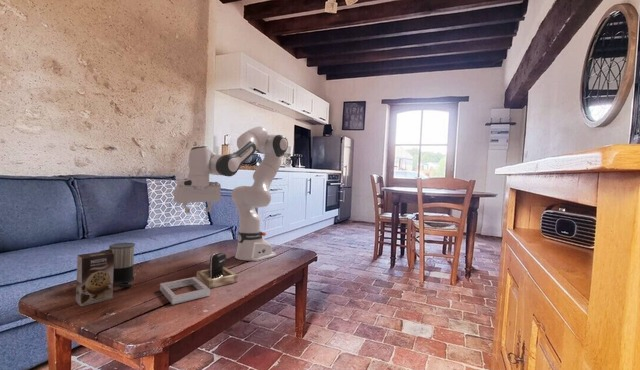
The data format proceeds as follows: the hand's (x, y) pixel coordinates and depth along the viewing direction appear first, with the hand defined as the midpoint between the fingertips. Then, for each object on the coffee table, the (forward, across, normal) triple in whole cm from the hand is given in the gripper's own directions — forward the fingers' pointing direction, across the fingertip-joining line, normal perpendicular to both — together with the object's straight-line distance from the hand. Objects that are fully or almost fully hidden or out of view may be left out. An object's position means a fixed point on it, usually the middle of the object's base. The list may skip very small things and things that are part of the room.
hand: (198, 212), depth 134 cm
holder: (+27, +13, +21) cm, 37 cm away
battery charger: (+28, -3, +16) cm, 32 cm away
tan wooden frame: (+27, -2, +16) cm, 32 cm away
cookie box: (+27, +38, +10) cm, 48 cm away
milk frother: (+28, +29, -2) cm, 40 cm away
